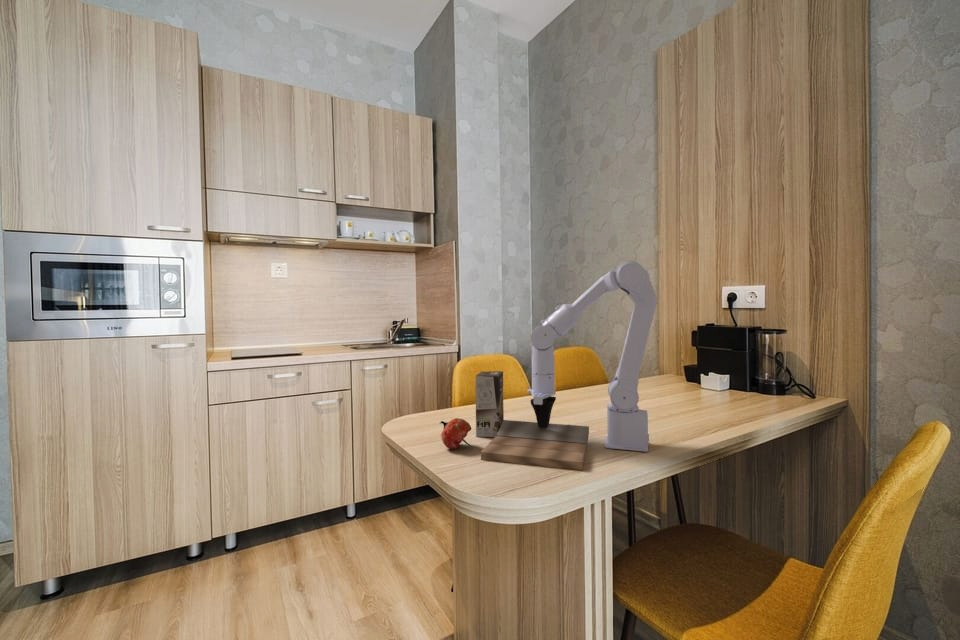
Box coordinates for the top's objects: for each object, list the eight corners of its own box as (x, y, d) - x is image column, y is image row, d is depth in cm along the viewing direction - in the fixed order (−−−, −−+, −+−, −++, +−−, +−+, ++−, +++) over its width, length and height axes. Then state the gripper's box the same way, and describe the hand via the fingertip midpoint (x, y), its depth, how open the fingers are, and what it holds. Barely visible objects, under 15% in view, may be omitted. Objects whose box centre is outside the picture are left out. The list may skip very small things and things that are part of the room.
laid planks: (586, 451, 99) (586, 444, 99) (581, 470, 87) (581, 462, 87) (496, 442, 106) (496, 436, 106) (480, 459, 94) (480, 451, 94)
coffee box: (499, 438, 110) (498, 376, 109) (475, 437, 111) (474, 375, 110) (504, 428, 119) (503, 370, 118) (482, 427, 120) (481, 370, 119)
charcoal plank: (589, 431, 106) (588, 426, 105) (586, 448, 100) (586, 443, 99) (504, 424, 113) (503, 419, 112) (497, 440, 107) (496, 435, 106)
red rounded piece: (471, 451, 106) (441, 425, 108) (486, 431, 104) (456, 405, 106) (459, 465, 99) (427, 437, 102) (475, 444, 97) (442, 415, 99)
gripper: (533, 368, 115) (533, 418, 115) (521, 377, 101) (521, 433, 102) (559, 369, 113) (559, 420, 113) (550, 378, 99) (550, 436, 99)
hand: (543, 426), depth 107 cm, fingers closed
